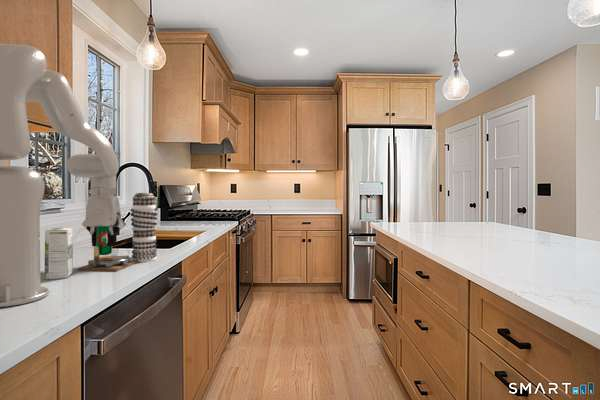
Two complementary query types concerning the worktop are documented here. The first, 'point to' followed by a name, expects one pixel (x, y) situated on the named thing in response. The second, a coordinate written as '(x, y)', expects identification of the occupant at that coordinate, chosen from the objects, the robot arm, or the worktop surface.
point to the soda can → (103, 240)
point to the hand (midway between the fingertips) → (104, 245)
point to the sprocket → (108, 259)
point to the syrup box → (58, 253)
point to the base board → (104, 268)
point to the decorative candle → (144, 227)
